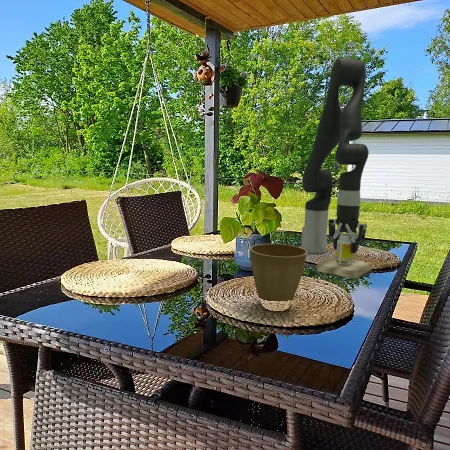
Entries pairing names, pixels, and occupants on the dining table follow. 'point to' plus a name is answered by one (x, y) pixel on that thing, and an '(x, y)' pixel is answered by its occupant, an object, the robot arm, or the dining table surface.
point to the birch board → (344, 268)
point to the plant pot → (277, 270)
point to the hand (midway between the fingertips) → (345, 251)
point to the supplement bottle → (344, 250)
